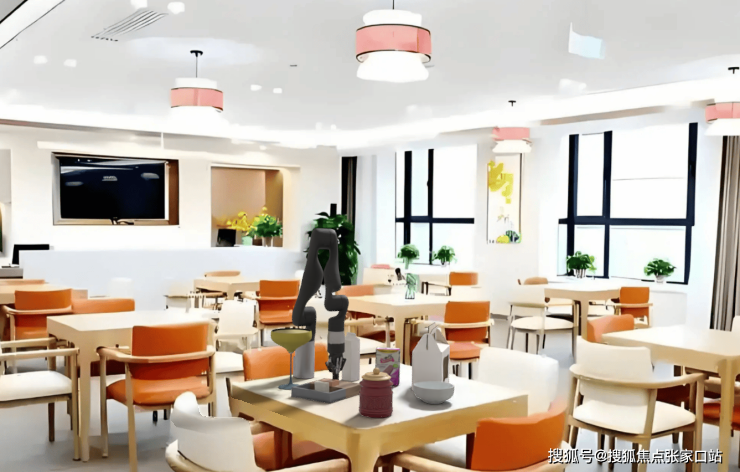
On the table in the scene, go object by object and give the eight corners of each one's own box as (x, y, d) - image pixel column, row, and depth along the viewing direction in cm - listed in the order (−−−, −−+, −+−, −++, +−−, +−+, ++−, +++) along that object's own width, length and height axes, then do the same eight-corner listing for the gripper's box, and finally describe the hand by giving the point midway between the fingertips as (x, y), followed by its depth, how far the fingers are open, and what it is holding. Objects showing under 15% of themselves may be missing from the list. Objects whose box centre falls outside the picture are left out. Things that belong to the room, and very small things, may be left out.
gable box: (441, 392, 317) (442, 328, 316) (411, 390, 320) (412, 326, 320) (449, 382, 338) (450, 322, 338) (421, 380, 342) (422, 320, 341)
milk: (350, 381, 337) (351, 334, 337) (341, 379, 341) (341, 332, 341) (359, 379, 342) (360, 332, 341) (350, 377, 346) (351, 331, 345)
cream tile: (317, 392, 309) (315, 393, 307) (317, 380, 309) (314, 381, 307) (329, 394, 306) (326, 395, 304) (328, 382, 305) (326, 383, 304)
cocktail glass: (263, 389, 317) (264, 332, 317) (279, 381, 335) (280, 327, 335) (302, 392, 313) (303, 334, 312) (316, 384, 330) (317, 329, 330)
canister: (372, 420, 270) (372, 372, 269) (352, 412, 280) (352, 366, 280) (399, 415, 277) (400, 368, 277) (379, 408, 288) (379, 363, 288)
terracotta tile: (320, 384, 310) (320, 380, 310) (327, 382, 315) (327, 378, 315) (332, 386, 307) (332, 382, 307) (339, 384, 311) (339, 380, 311)
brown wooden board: (307, 391, 315) (307, 382, 315) (324, 387, 325) (324, 378, 325) (345, 398, 304) (345, 388, 304) (362, 393, 314) (362, 383, 314)
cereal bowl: (462, 403, 297) (462, 386, 297) (429, 408, 288) (430, 390, 288) (437, 395, 312) (437, 378, 312) (404, 399, 303) (405, 382, 303)
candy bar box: (374, 385, 331) (375, 348, 330) (375, 382, 336) (376, 347, 335) (399, 385, 329) (399, 349, 329) (400, 383, 334) (400, 347, 334)
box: (291, 396, 305) (291, 387, 305) (307, 391, 315) (307, 382, 315) (329, 403, 294) (329, 393, 294) (345, 398, 304) (345, 388, 304)
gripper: (337, 338, 322) (337, 378, 322) (319, 342, 310) (319, 383, 311) (352, 340, 317) (351, 380, 318) (334, 344, 306) (333, 385, 307)
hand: (335, 381), depth 314 cm, fingers closed
